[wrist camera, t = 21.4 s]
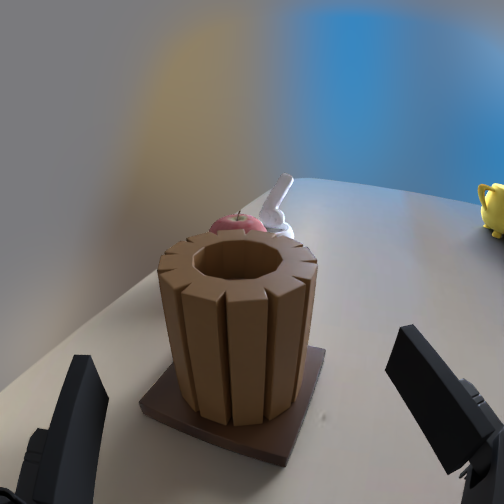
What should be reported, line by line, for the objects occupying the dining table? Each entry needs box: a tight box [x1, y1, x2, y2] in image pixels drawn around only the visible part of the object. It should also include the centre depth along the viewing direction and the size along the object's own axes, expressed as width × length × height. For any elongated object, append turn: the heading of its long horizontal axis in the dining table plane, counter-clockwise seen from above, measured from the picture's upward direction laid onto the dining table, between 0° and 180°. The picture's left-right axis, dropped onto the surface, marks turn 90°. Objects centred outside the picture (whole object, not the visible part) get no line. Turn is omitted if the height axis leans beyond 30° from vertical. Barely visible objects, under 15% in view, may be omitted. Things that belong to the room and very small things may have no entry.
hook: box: [259, 173, 294, 239], centre depth 52 cm, size 8×12×7 cm
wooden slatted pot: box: [157, 229, 318, 426], centre depth 20 cm, size 9×9×10 cm
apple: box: [209, 211, 267, 235], centre depth 39 cm, size 7×7×8 cm
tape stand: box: [139, 278, 326, 467], centre depth 21 cm, size 11×11×10 cm
